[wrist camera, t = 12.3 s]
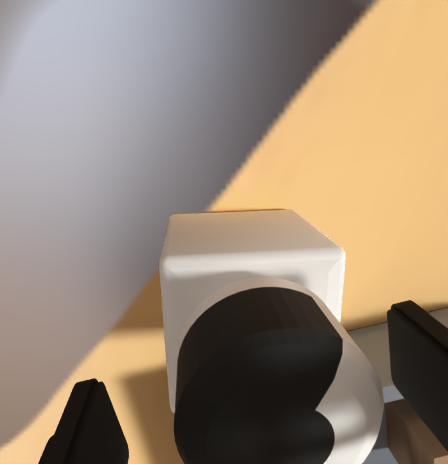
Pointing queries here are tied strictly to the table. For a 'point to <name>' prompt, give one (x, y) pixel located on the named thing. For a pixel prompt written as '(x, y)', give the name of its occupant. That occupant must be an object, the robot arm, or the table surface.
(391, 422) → the walnut cube
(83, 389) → the robot arm
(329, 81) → the table surface
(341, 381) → the medicine bottle
